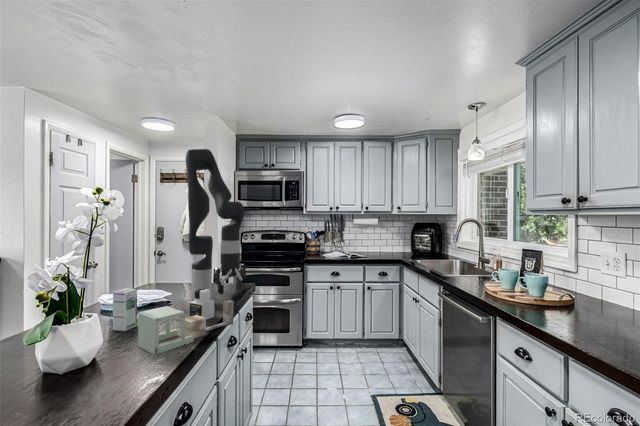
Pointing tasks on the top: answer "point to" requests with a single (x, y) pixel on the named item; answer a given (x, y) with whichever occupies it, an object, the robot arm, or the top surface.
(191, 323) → the towed block
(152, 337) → the green windowed box
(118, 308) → the syrup box
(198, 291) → the medicine bottle
